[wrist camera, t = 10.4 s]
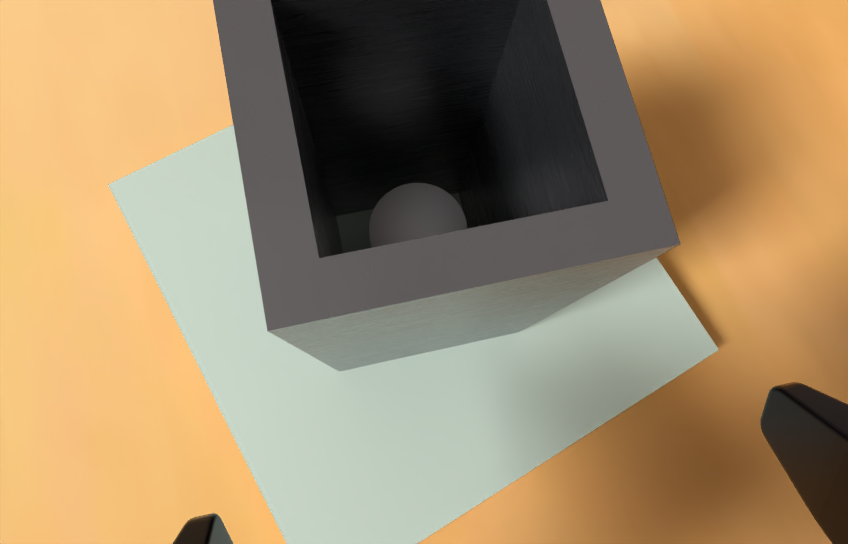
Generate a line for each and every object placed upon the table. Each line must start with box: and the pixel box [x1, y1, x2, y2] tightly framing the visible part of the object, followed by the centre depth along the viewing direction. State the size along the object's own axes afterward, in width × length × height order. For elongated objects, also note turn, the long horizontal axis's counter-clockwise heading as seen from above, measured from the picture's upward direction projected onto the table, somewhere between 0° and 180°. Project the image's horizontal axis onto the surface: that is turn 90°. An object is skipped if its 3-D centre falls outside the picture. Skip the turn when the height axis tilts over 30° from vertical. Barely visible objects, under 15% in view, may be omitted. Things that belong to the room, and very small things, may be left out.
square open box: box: [213, 0, 680, 372], centre depth 13 cm, size 6×6×10 cm
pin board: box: [108, 125, 719, 544], centre depth 16 cm, size 14×14×5 cm
